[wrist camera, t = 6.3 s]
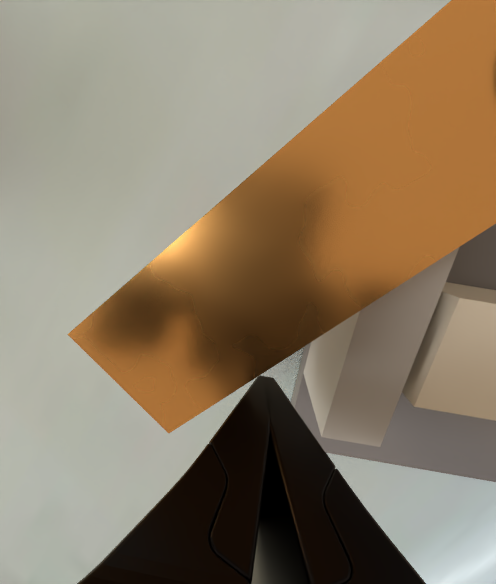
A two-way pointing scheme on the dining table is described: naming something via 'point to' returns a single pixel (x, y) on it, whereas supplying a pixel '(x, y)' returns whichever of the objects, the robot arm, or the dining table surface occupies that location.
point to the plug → (457, 355)
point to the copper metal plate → (316, 226)
